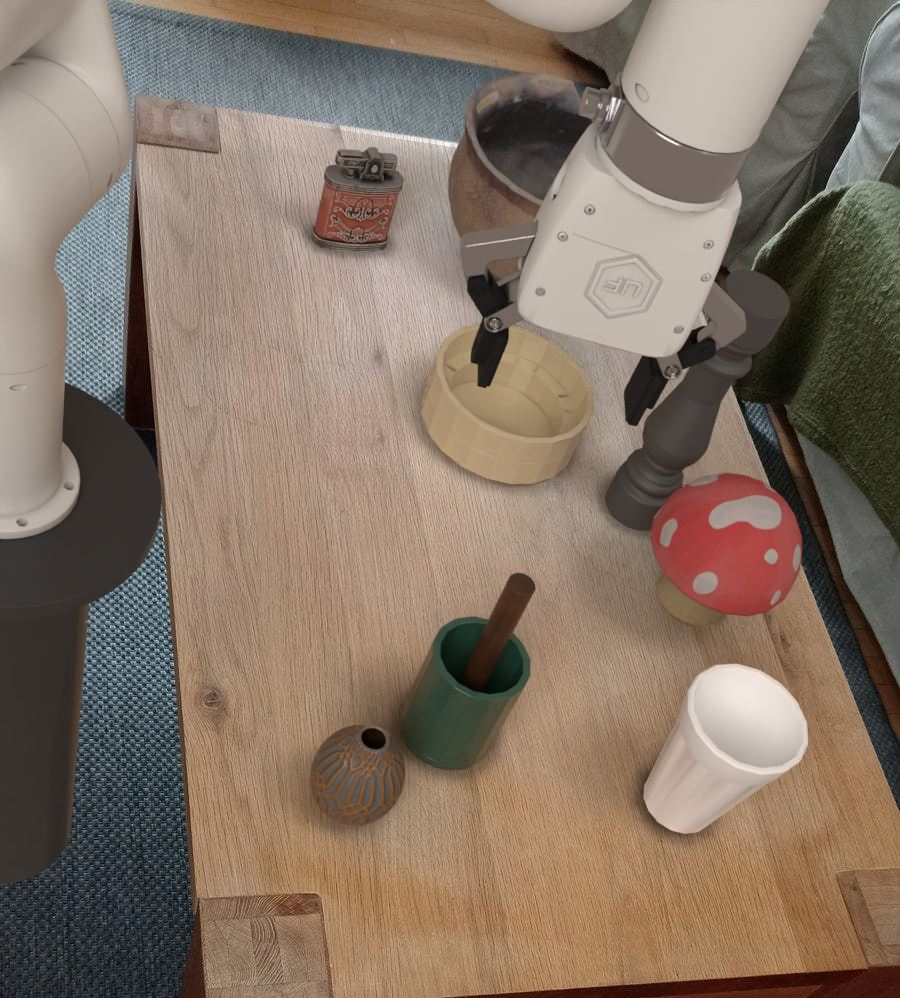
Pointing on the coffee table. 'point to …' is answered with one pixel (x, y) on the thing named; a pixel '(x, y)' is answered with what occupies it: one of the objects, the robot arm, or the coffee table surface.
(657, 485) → the candle holder
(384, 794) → the vase
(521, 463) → the mixing bowl
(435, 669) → the crock
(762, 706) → the cup
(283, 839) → the coffee table surface
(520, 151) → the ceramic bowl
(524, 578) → the stick
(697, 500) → the decorative mushroom
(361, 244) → the lighter
